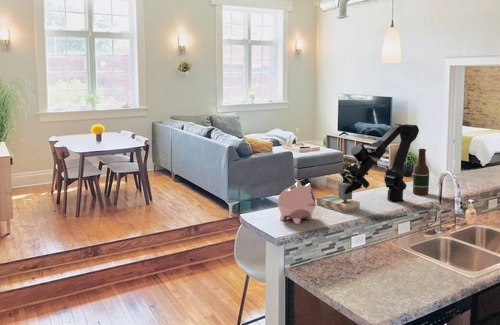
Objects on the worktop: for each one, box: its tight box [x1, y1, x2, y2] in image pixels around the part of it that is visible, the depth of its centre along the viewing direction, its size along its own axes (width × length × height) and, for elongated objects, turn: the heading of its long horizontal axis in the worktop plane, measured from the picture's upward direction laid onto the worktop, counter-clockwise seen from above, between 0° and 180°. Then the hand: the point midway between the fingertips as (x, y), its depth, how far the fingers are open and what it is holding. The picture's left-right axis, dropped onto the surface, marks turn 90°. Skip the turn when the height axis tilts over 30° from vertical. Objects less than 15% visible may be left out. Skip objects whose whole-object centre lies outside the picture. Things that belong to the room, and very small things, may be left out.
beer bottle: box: [412, 148, 430, 197], centre depth 248 cm, size 8×8×24 cm
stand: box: [316, 194, 361, 214], centre depth 229 cm, size 19×10×4 cm, turn 33°
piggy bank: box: [277, 181, 317, 225], centre depth 210 cm, size 15×18×16 cm
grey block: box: [337, 182, 353, 200], centre depth 224 cm, size 5×5×7 cm
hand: (342, 192), depth 223 cm, fingers closed on grey block, 5 cm apart
